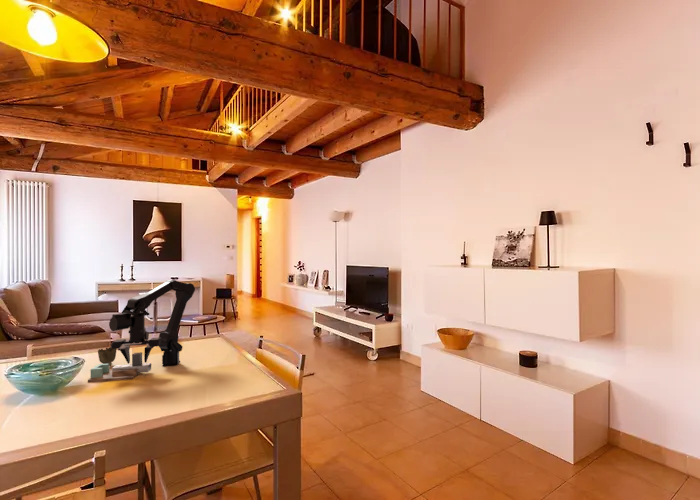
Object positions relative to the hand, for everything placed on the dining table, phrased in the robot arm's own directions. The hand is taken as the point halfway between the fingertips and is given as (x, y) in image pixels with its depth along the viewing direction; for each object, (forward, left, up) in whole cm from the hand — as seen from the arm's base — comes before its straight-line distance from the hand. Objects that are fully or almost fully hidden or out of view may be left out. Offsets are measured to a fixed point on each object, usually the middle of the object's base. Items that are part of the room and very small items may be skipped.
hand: (137, 362), depth 162 cm
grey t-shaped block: (+2, 0, -4) cm, 4 cm away
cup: (+19, -17, -5) cm, 26 cm away
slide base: (+8, 0, -5) cm, 9 cm away
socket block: (+15, 0, -5) cm, 15 cm away
